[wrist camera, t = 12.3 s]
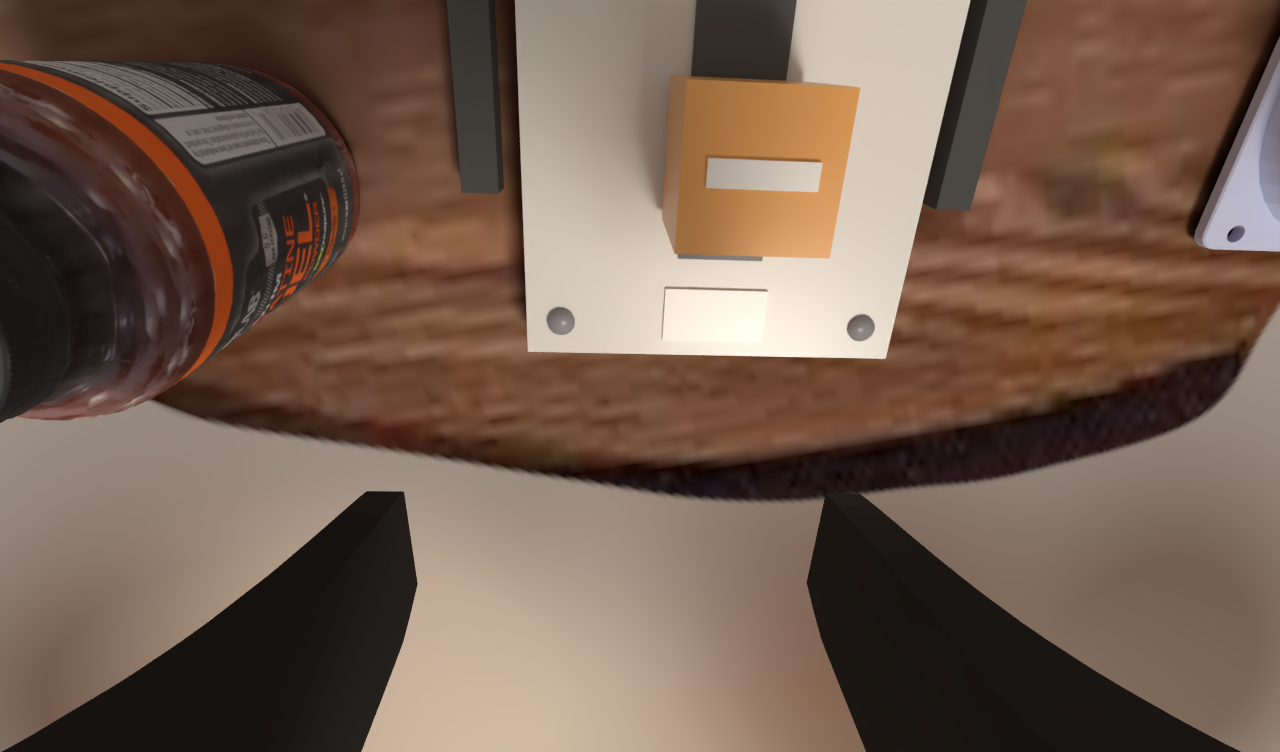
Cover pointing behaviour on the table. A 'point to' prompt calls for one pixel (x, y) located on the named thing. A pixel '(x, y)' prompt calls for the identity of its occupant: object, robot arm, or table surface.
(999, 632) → the robot arm
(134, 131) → the supplement bottle
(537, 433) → the table surface
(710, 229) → the orange cube
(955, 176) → the twin dark grey rails
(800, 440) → the table surface
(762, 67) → the panel
